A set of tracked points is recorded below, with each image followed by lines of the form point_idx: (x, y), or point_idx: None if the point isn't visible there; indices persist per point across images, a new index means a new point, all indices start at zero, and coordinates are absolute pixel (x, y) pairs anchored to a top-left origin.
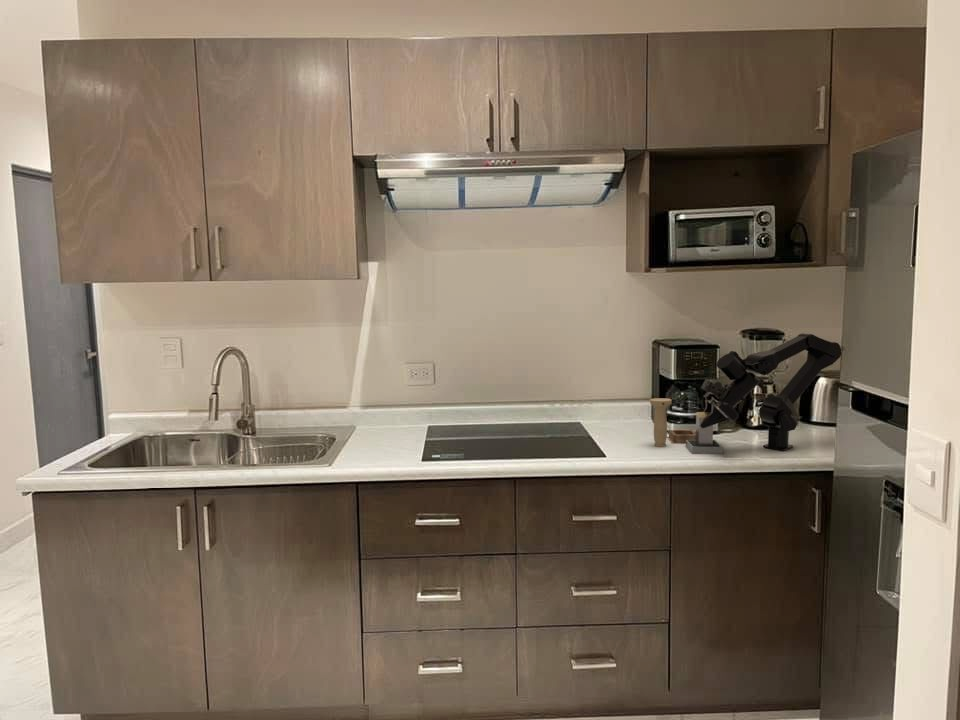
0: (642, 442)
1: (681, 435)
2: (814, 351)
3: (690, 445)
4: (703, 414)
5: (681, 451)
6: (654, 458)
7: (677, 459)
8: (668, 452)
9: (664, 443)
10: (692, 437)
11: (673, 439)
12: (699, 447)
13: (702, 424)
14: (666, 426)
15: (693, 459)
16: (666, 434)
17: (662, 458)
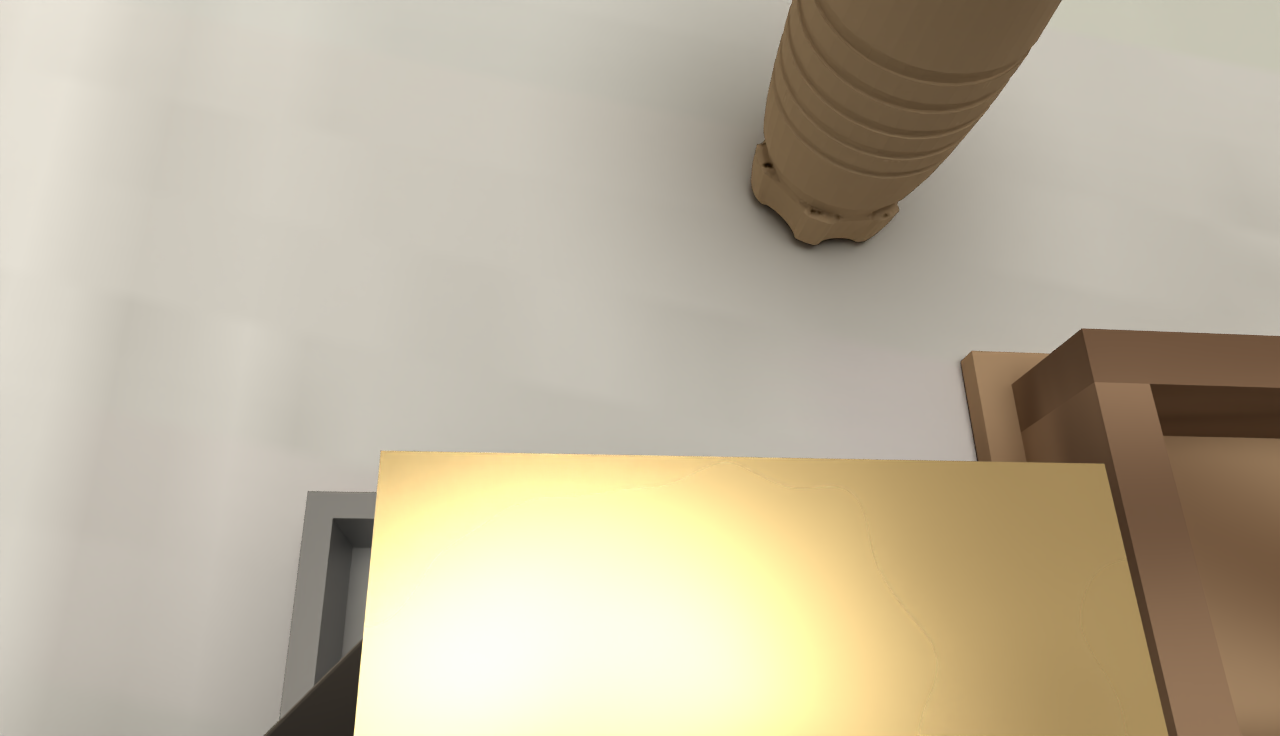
0: (1045, 52)
1: (1109, 463)
2: None
3: None
4: (470, 722)
5: (601, 423)
6: (236, 11)
7: (130, 264)
8: (542, 234)
9: (800, 193)
10: None
11: (1045, 360)
12: (289, 637)
13: (337, 675)
14: (910, 10)
15: (80, 498)
16: (846, 122)
17: (221, 95)
